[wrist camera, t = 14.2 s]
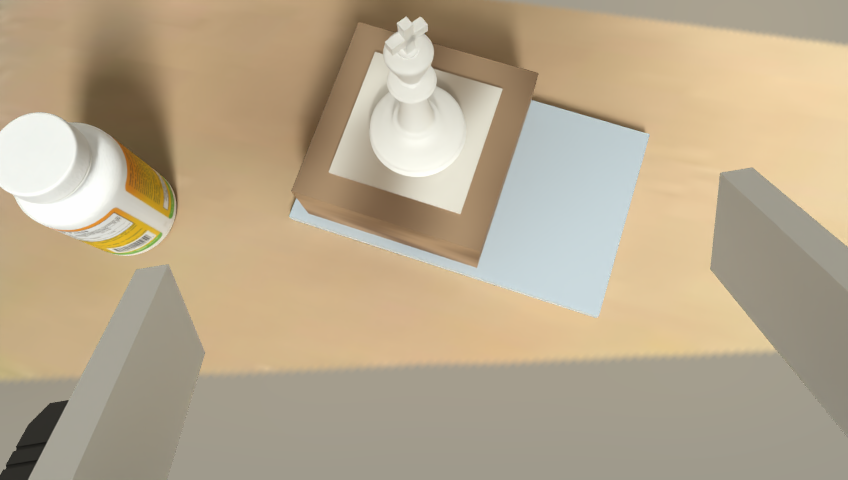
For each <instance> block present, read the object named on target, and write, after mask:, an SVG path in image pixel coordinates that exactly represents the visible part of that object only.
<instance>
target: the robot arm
mask: <svg viewBox="0 0 848 480" xmlns="http://www.w3.org/2000/svg"><path fill="white" fill-rule="evenodd" d="M710 269H711V271H712V272H713V273H714V274H715V276H716V277H717V278H718V279H719V280H720V282H721V283H722V284H723V285H724V287H725V288H726V289H727V290H728V291H729V293H730V294H731V295H732V296H733V298H734V299H735V300H736V301H737V302H738V304H739V305H740V306H741V307H742V309H743V310H744V311H745V312H746V314H747V315H748V316H749V317H750V318H751V320H752V321H753V322H754V323H755V325H756V326H757V327H758V328H759V329H760V331H761V332H762V333H763V334H764V336H765V337H766V338H767V339H768V340H769V342H770V343H771V344H772V345H773V347H774V348H775V349H776V350H777V351H778V353H779V354H780V355H781V356H782V358H783V359H784V360H785V361H786V363H787V364H788V365H789V366H790V367H791V369H792V370H793V371H794V372H795V374H797V376H798V377H799V378H800V380H801V381H802V382H803V383H804V385H805V386H806V387H807V388H808V389H809V391H810V392H811V393H812V394H813V396H814V397H815V398H816V399H817V400H818V402H819V403H820V404H821V405H822V407H823V408H824V409H825V410H826V412H827V413H828V414H829V415H830V416H831V418H832V419H833V420H834V421H835V422H836V424H837V425H838V426H839V427H840V429H841V430H842V431H843V432H844V434H845V435H846V436H847V437H848V247H847V246H846V245H844V244H843V243H842V242H841V241H840V240H838V239H837V238H836V237H835V236H834V235H832V234H831V233H830V232H829V231H828V230H826V229H825V228H824V227H823V226H822V225H821V224H819V223H818V222H817V221H816V220H815V219H813V218H812V217H811V216H810V215H809V214H807V213H806V212H805V211H804V210H803V209H801V208H800V207H799V206H798V205H797V204H795V203H794V202H793V201H792V200H791V199H789V198H788V197H787V196H786V195H785V194H783V193H782V192H781V191H780V190H779V189H777V188H776V187H775V186H774V185H773V184H771V183H770V182H769V181H768V180H767V179H765V178H764V177H763V176H762V175H761V174H759V173H758V172H757V171H756V170H755V169H754V168H747V169H741V170H735V171H729V172H723V173H720V179H719V189H718V199H717V208H716V218H715V228H714V238H713V247H712V257H711V267H710ZM204 355H205V351H204V349H203V346H202V344H201V342H200V339H199V337H198V334H197V332H196V330H195V327H194V325H193V322H192V320H191V317H190V315H189V313H188V310H187V308H186V305H185V303H184V300H183V298H182V296H181V293H180V291H179V288H178V286H177V284H176V281H175V279H174V276H173V274H172V271H171V269H170V267H169V264H167V265H161V266H155V267H149V268H143V269H137V270H136V271H135V273H134V275H133V277H132V279H131V281H130V283H129V285H128V287H127V289H126V291H125V293H124V294H123V296H122V298H121V300H120V302H119V304H118V306H117V308H116V310H115V312H114V314H113V316H112V318H111V320H110V322H109V324H108V326H107V327H106V329H105V331H104V333H103V335H102V337H101V339H100V341H99V343H98V345H97V347H96V349H95V351H94V353H93V355H92V357H91V358H90V360H89V362H88V364H87V366H86V368H85V370H84V372H83V374H82V376H81V378H80V380H79V382H78V384H77V386H76V388H75V389H74V391H73V393H72V395H71V397H70V399H69V400H67V401H61V402H55V403H50V404H49V405H48V406H47V407H46V408H45V409H44V410H43V411H42V412H41V413H40V414H39V415H38V416H37V417H36V418H35V419H34V420H33V421H32V422H31V423H30V424H29V425H28V427H27V428H26V430H25V432H24V434H23V435H22V437H21V439H20V441H19V443H18V444H17V446H16V448H17V450H16V451H14V452H13V453H12V455H11V457H10V459H9V461H8V462H7V464H6V469H5V470H3V471H2V473H1V475H0V480H167V478H168V475H169V472H170V468H171V465H172V462H173V458H174V455H175V452H176V448H177V445H178V441H179V438H180V435H181V431H182V428H183V425H184V421H185V418H186V415H187V411H188V408H189V405H190V401H191V398H192V395H193V391H194V388H195V384H196V381H197V378H198V375H199V371H200V368H201V365H202V361H203V358H204Z"/></svg>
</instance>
